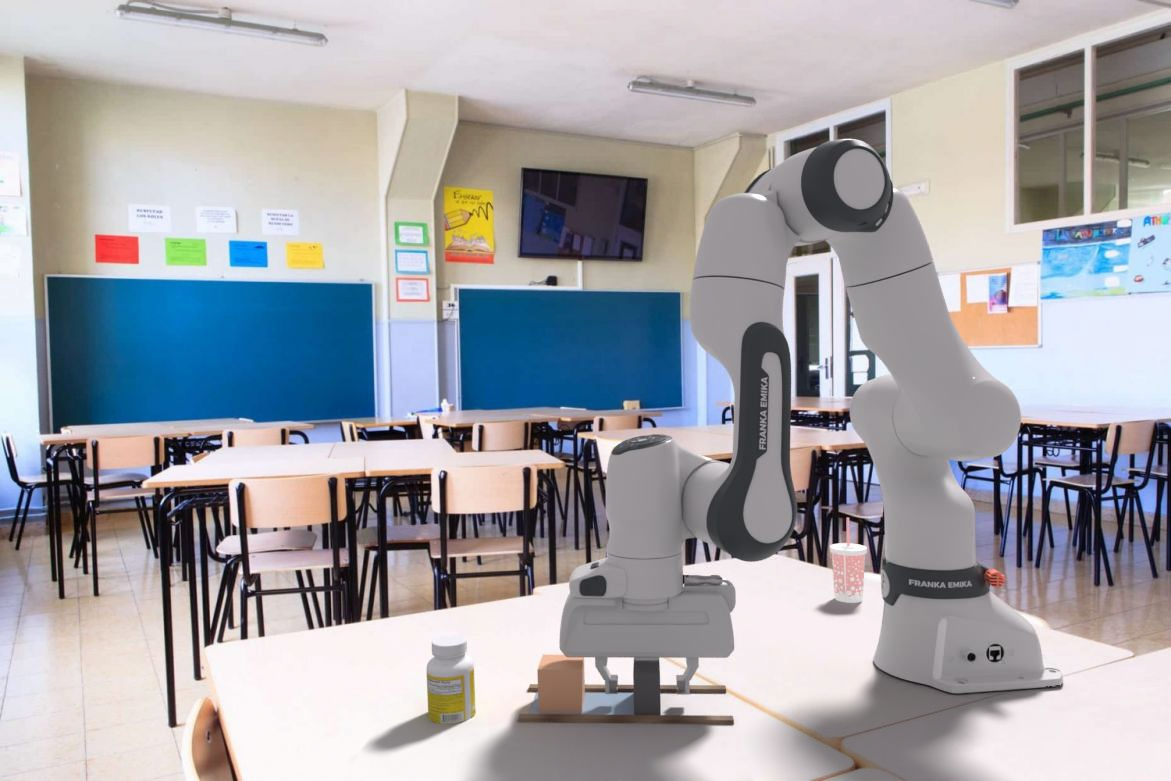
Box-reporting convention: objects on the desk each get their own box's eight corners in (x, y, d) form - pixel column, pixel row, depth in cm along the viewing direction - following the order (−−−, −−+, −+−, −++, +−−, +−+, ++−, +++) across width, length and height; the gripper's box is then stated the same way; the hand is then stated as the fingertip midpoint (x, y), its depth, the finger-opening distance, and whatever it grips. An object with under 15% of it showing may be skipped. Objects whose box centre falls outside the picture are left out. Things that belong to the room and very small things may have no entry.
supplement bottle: (453, 710, 101) (451, 629, 100) (485, 722, 97) (483, 638, 97) (418, 726, 96) (415, 641, 96) (449, 738, 93) (447, 651, 93)
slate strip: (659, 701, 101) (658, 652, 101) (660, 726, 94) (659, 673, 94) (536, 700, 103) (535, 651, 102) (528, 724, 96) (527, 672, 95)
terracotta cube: (584, 695, 101) (584, 654, 101) (581, 713, 96) (580, 669, 96) (543, 695, 101) (542, 654, 101) (538, 712, 96) (537, 669, 96)
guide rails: (725, 698, 102) (725, 685, 102) (734, 734, 92) (733, 720, 92) (530, 696, 104) (530, 684, 104) (518, 732, 94) (517, 718, 94)
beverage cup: (871, 596, 144) (870, 516, 144) (862, 606, 139) (861, 522, 139) (835, 592, 148) (834, 513, 147) (825, 601, 143) (824, 519, 142)
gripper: (732, 568, 100) (734, 682, 100) (561, 569, 101) (564, 682, 102) (738, 582, 94) (740, 704, 94) (556, 582, 95) (558, 703, 96)
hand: (647, 692), depth 98 cm, fingers open, 7 cm apart
